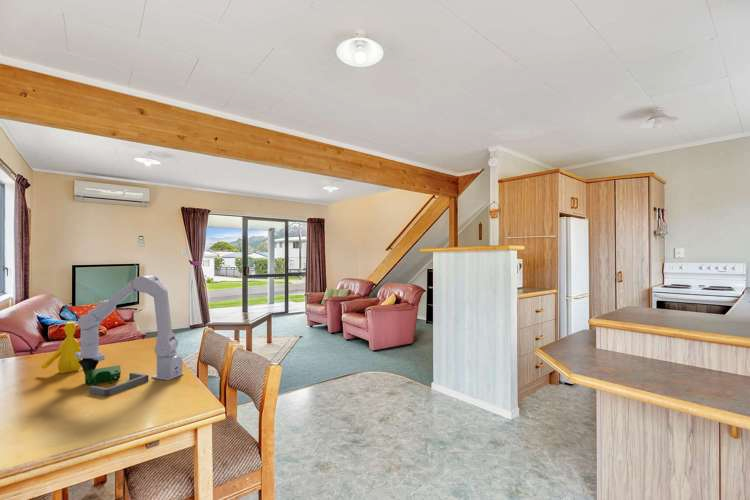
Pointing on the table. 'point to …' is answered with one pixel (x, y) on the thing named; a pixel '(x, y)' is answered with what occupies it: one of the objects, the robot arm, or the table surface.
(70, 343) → the figure statuette
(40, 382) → the table surface
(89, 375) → the clamp
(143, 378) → the tool bay
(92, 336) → the robot arm
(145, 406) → the table surface
